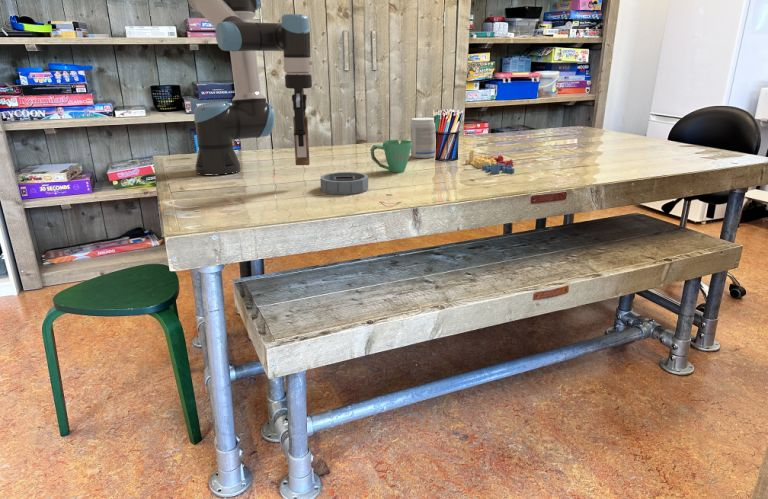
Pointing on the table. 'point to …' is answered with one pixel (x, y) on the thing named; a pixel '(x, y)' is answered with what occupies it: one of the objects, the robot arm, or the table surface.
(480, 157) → the toy parts cluster
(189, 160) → the table surface
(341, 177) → the clip
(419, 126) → the supplement tub
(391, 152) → the mug
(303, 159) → the brown wooden block
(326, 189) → the grey ridged lid
